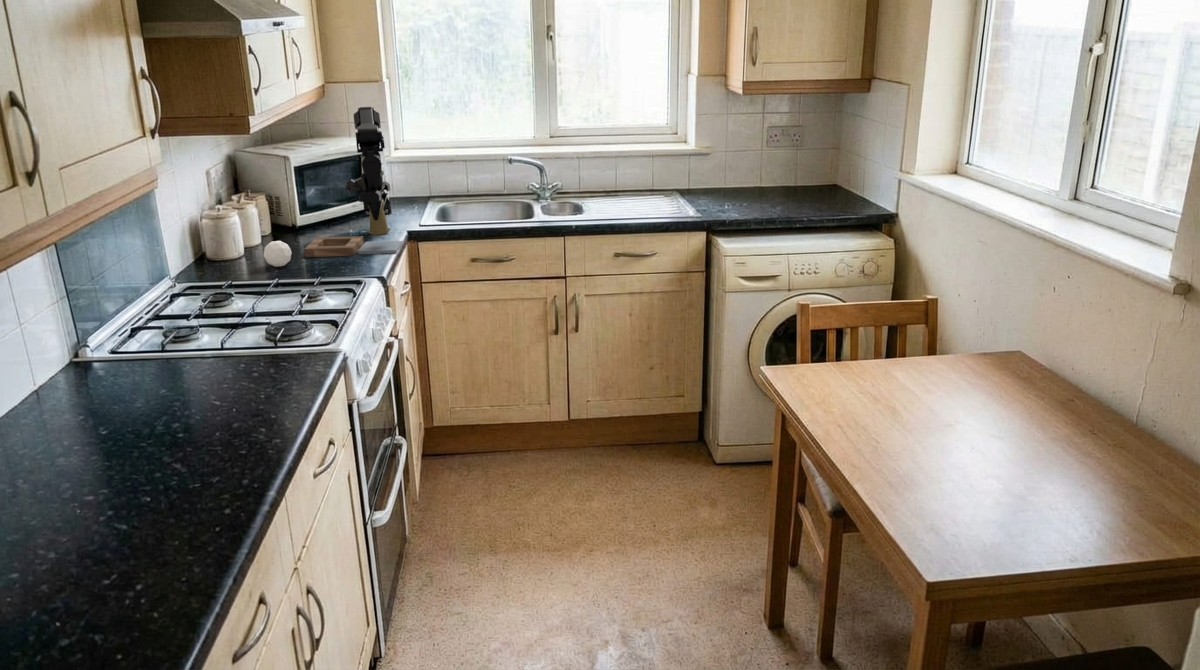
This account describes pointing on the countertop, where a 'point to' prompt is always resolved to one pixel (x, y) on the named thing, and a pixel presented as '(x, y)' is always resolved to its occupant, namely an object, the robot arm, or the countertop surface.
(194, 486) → the countertop surface
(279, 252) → the ball
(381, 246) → the mat
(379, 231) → the cork
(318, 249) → the pocket frame
